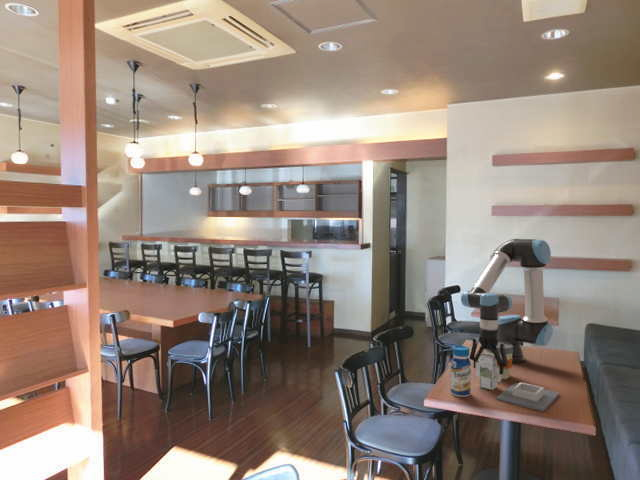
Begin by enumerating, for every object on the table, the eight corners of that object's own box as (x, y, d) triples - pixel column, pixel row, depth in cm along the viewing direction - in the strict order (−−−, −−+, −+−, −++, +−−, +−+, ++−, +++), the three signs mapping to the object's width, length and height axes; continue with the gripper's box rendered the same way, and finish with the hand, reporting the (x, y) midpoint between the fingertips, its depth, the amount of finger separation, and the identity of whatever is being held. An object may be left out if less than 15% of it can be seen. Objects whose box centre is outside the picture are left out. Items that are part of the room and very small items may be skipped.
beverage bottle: (466, 389, 196) (467, 344, 195) (473, 397, 188) (474, 350, 187) (447, 389, 196) (448, 344, 195) (453, 397, 188) (453, 350, 187)
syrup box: (496, 387, 199) (497, 354, 199) (491, 390, 195) (492, 358, 194) (484, 383, 203) (484, 352, 203) (479, 387, 199) (479, 355, 198)
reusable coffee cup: (479, 375, 215) (479, 344, 214) (493, 369, 223) (493, 339, 222) (504, 382, 205) (505, 350, 204) (517, 376, 213) (518, 345, 212)
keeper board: (515, 384, 202) (515, 376, 202) (559, 395, 190) (559, 385, 190) (496, 399, 186) (496, 390, 185) (543, 411, 174) (543, 401, 173)
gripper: (461, 326, 202) (461, 375, 204) (511, 334, 188) (510, 386, 189) (468, 323, 208) (468, 370, 209) (517, 330, 193) (516, 382, 194)
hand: (488, 378), depth 199 cm, fingers open, 9 cm apart
